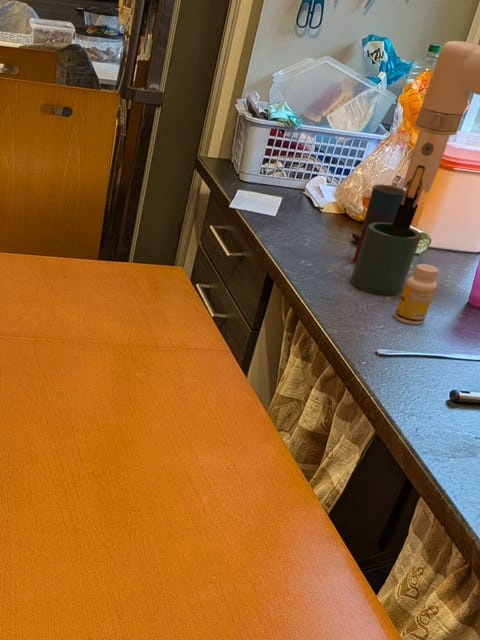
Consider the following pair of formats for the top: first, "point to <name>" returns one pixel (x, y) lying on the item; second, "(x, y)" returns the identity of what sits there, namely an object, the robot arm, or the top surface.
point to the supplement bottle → (417, 295)
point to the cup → (381, 208)
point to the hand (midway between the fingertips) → (401, 225)
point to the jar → (384, 259)
